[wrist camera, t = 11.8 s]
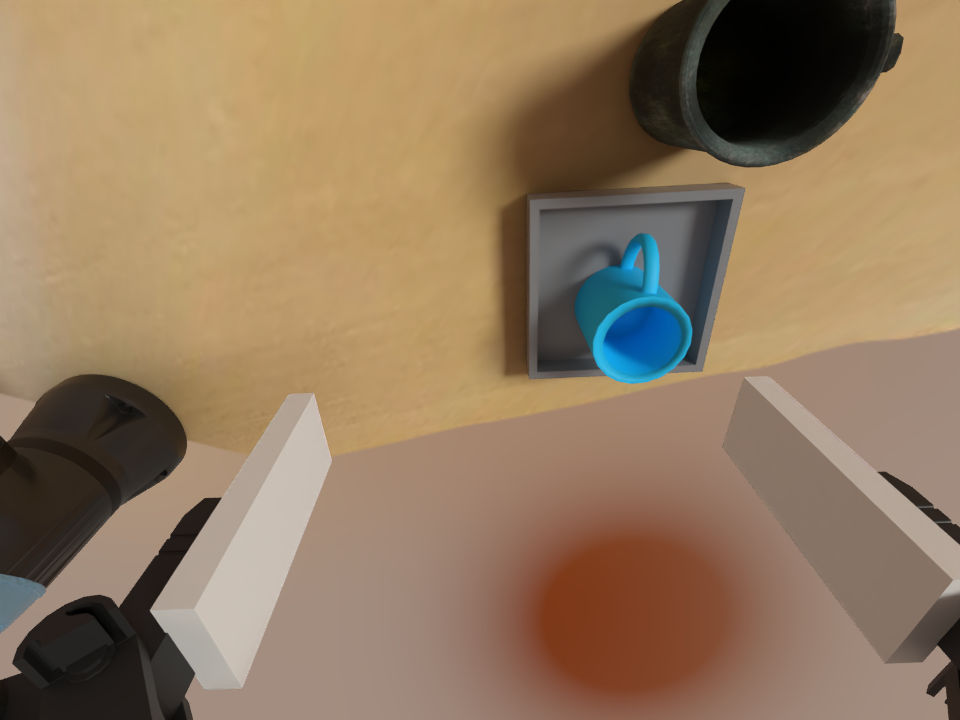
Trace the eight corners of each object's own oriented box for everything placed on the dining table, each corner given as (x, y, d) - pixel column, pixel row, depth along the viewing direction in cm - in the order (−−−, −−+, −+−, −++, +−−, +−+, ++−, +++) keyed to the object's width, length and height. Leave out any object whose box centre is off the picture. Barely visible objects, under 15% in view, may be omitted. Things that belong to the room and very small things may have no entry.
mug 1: (647, 342, 45) (677, 384, 38) (569, 339, 45) (585, 382, 38) (677, 224, 39) (720, 249, 32) (587, 221, 39) (610, 245, 32)
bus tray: (526, 364, 48) (529, 379, 45) (526, 193, 39) (530, 200, 36) (690, 357, 47) (702, 371, 44) (727, 182, 38) (745, 188, 36)
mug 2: (627, -6, 32) (698, -62, 21) (832, -27, 31) (1008, -95, 21) (616, 157, 37) (669, 175, 27) (791, 141, 37) (914, 154, 26)
